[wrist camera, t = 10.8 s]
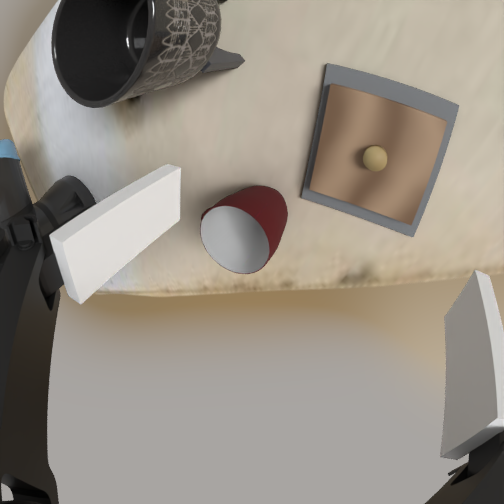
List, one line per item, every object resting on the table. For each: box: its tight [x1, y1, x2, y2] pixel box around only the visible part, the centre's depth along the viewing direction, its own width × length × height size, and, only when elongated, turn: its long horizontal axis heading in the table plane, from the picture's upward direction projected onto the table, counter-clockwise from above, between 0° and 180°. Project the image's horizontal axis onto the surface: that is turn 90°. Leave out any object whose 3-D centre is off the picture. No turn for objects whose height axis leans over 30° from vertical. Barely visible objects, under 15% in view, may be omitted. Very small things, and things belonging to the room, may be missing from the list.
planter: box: [51, 0, 245, 108], centre depth 23 cm, size 13×13×18 cm
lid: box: [309, 83, 447, 225], centre depth 29 cm, size 12×12×3 cm
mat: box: [301, 63, 459, 237], centre depth 30 cm, size 14×16×1 cm
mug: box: [200, 186, 288, 274], centre depth 36 cm, size 10×8×10 cm
